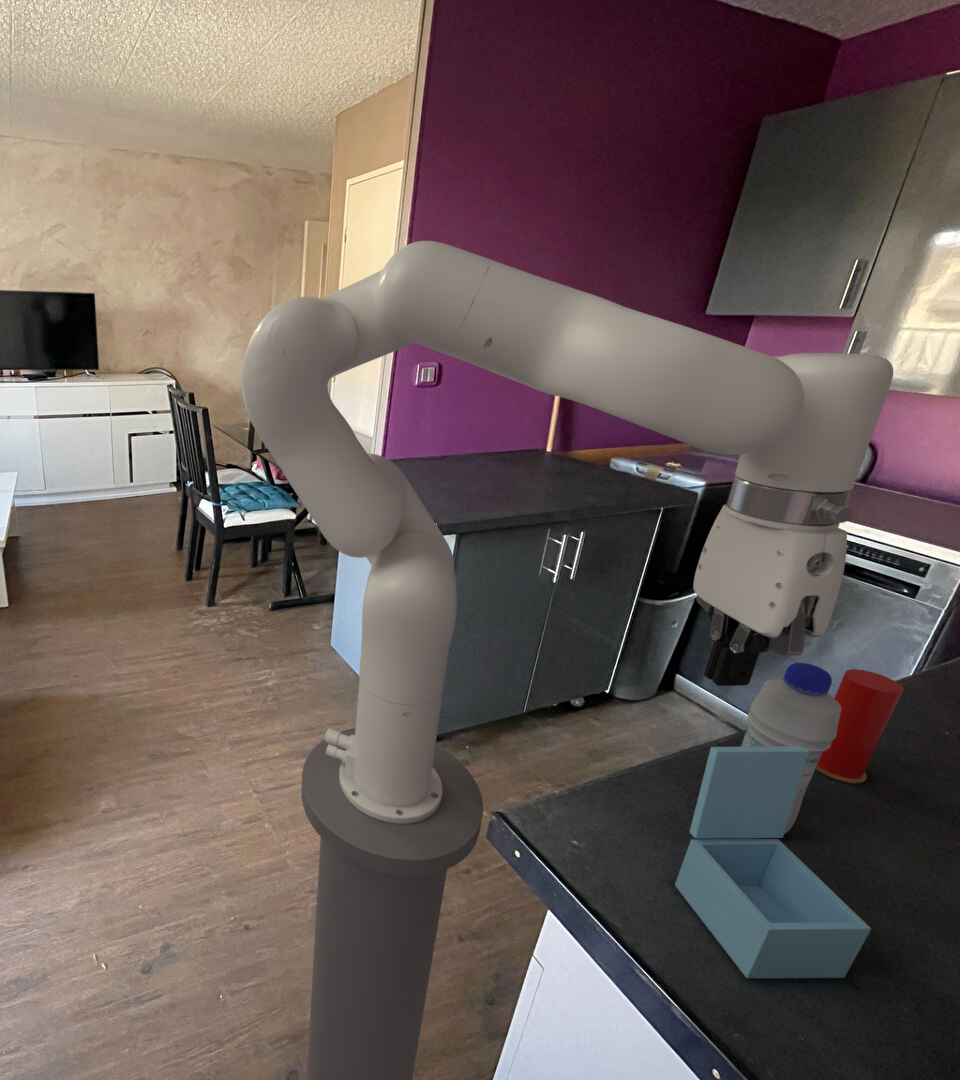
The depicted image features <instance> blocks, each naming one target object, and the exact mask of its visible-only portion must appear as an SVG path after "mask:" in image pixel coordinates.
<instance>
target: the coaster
mask: <svg viewBox="0 0 960 1080" xmlns="http://www.w3.org/2000/svg"><path fill="white" fill-rule="evenodd" d="M815 771H817V772H819V773H821V774H823V775H825V776H827V777H830V778H832V779H834V780H837V781H840V782H844V783H849V784H862V783H864V782H865V781H866V780H867V778H868V775H867V772H866V771H865V772H864V774H863V776H862V777H861V778H858V779H849V778H844V777H840V776H837V775H834V774H832V773H830V772H827V771H825V770H824V769H822V768H820V767H819V766H816V769H815Z"/></svg>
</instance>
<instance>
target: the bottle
mask: <svg viewBox="0 0 960 1080" xmlns="http://www.w3.org/2000/svg"><path fill="white" fill-rule="evenodd" d="M832 683H833V677H832V676H831V674H830V673H829V672H828V671H826V670H825V669H823V668H822V667H820V666H818V665H814V664H811V663H808V662H807V663H806V662H795V663H791V664H789V666H787V668H786V670H785V672H784V675H783V678H772V679H769V680H767V681H765V682H764V684H763V685H762V687H761V689H760V690H759V692H758V693H757V695H756V696H755V698H754V699H753V700H752V702H751V704H750V706H749V712H748V714H747V722H748V726H747V729H746V731H745V734H744V736H743V739H742V742H741V745H740V747H782V746H801V747H803V748H805V749H806V750H808V751H809V754H808V758H807V761H806V764H805V767H804V771H803V774H802V777H801V781H800V784H799V787H798V790H797V794H796V797H795V800H794V803H793V807H792V810H791V813H790V817H789V820H788V823H787V826H786V830H785V833H784V835H785V834H787V833H788V832H789V831H790V830H791V829H792V827H793V826H794V824H795V822H796V821H797V817H798V816H799V812H800V811H801V810H800V809H801V806H802V804H803V800H804V796H805V793H806V791H807V789H808V787H809V785H810V782H811V780H812V777H813V776H814V773H815V771H816V766H817V764H818V762H819V760H820V757H821V755H822V752H824V751H826V750H827V749H829V748H830V747H831V742H832V741H833V740H834V739H835V738H836V736H837V728H838V723H839V718H840V714H841V706H840V704H839V703H838V701H837V700H836V699H835V698H834V696H832V695H831V694H829V691H830V688H831V686H832Z"/></svg>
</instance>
